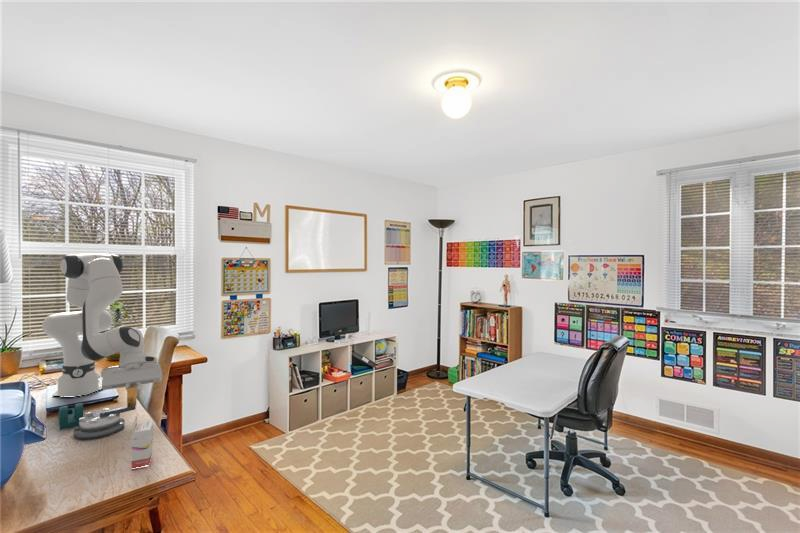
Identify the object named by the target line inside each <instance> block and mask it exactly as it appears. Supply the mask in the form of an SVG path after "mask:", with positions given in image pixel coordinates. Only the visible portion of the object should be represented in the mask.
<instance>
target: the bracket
mask: <svg viewBox="0 0 800 533" xmlns="http://www.w3.org/2000/svg"><path fill="white" fill-rule="evenodd" d="M68 407H69V406H68V405H62V406H59V408H58V409H59V411H58V425H59V430H60V431H63V430H68V429H72V428H76V427H78V426H79V418H82V417H84V403H83V402H79V403H74V407H70V408H68Z"/></svg>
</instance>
